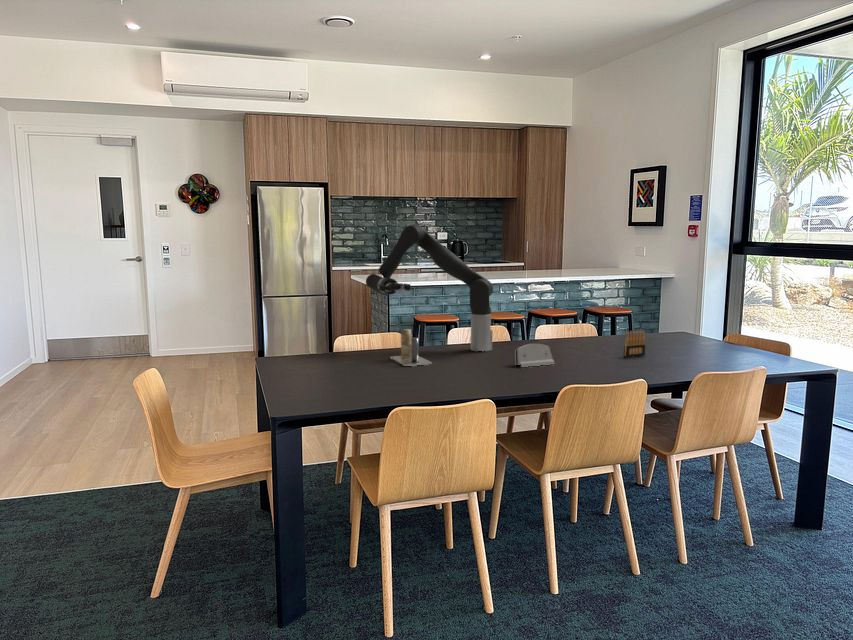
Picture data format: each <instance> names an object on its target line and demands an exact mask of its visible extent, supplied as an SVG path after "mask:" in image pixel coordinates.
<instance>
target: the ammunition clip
mask: <svg viewBox="0 0 853 640" xmlns="http://www.w3.org/2000/svg"><path fill="white" fill-rule="evenodd" d="M645 339H646V338H645V330H644V329H643V328H642V330H641V329H639V331H638V329H636V331H635V329H633V331H632V330H630V331H629V330H627V331H626V334H625V340H624V346H623V356H625V357H624V358H626V357H627V358H631V357H630V356H638V357H641V356H640V355H645V356H646V344H645V343H646V342H645Z"/></svg>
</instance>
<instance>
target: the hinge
mask: <svg viewBox="0 0 853 640" xmlns="http://www.w3.org/2000/svg"><path fill="white" fill-rule="evenodd" d="M550 364H555V365H556V363H555V360H554V359H553V356H552V352H551V349H550V346H549V345H547V344H543V343H542V344H541V343H528V344H527V343H526V344H524V345H522V346H519V347H517V348H516V349H515V350H514V366H515V365H521V366H520V368H521V367H528V366H540V365H550ZM540 367H541V366H540Z"/></svg>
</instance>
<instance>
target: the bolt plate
mask: <svg viewBox="0 0 853 640" xmlns="http://www.w3.org/2000/svg"><path fill="white" fill-rule="evenodd" d="M419 341H420V339H419V337H411V358H401V355H395V356H394V355H393V356H390V358H391V359H393V360H395V361H396V362H395V361H394V362H395V363H397V362H398V363H397V364H399V363H400V364H402V365H403V367H404V366H412V367H418V366H417V365H424V366H430V365H429V364H432V365H433V362H432V361H430V360H427V359H425V358H424V357H422V356H419V355H420V354H419V352H420V351H419V350H420V348H419V345H420V344H419ZM391 359H390V360H391ZM393 360H392V361H393ZM400 364H399V365H400ZM402 365H401V366H402Z"/></svg>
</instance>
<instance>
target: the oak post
mask: <svg viewBox="0 0 853 640" xmlns="http://www.w3.org/2000/svg"><path fill="white" fill-rule="evenodd" d="M411 338H412V329H411V328H404V329H403V328H402V329H400V356H401V358H411Z"/></svg>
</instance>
